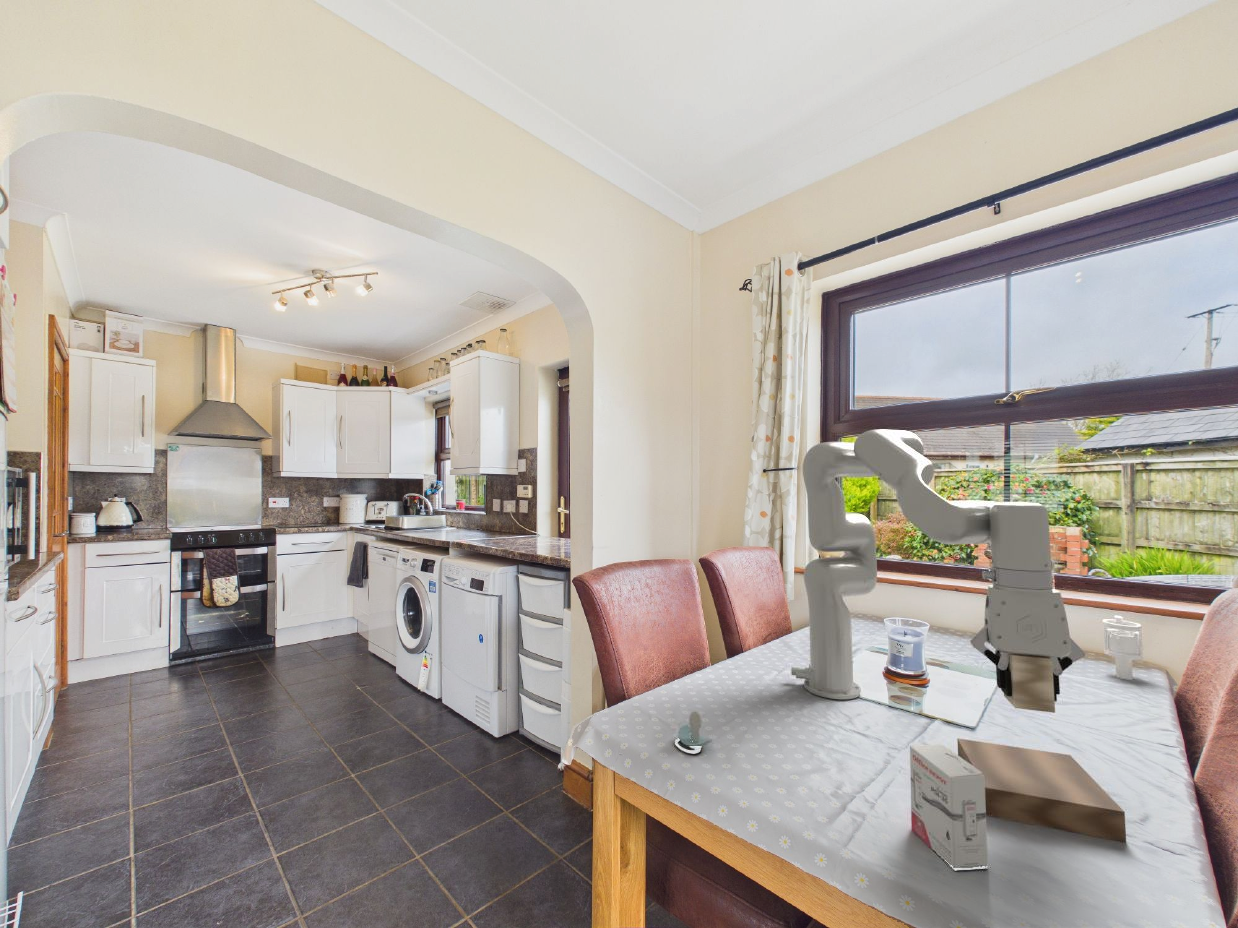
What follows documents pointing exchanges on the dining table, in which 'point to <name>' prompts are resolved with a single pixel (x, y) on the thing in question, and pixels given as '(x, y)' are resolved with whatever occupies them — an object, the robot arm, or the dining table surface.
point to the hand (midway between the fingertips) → (1027, 694)
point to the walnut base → (1043, 790)
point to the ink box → (948, 805)
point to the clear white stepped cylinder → (1123, 645)
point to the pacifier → (692, 731)
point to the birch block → (1031, 682)
